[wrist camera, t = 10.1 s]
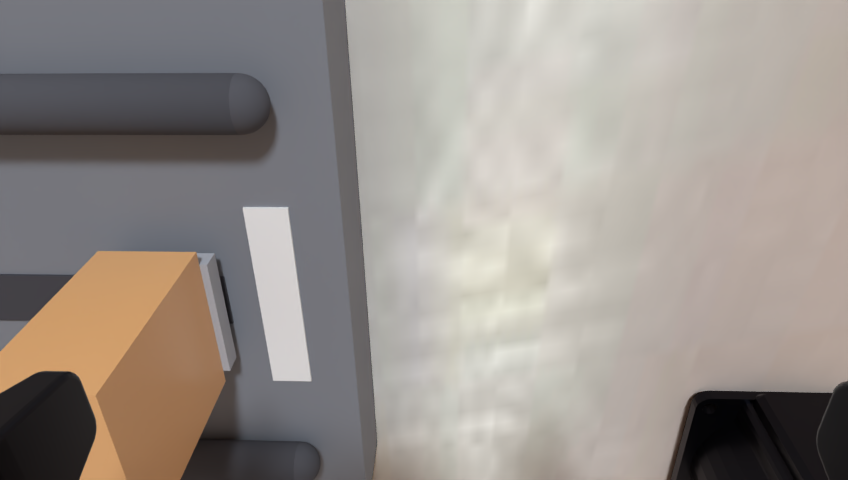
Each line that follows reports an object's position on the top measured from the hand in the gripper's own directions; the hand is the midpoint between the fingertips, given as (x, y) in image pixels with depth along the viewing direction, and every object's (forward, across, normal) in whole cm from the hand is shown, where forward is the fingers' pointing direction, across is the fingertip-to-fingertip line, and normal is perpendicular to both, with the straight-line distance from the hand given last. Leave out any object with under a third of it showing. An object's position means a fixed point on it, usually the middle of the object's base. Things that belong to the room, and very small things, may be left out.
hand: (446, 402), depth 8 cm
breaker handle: (+9, +8, +5) cm, 13 cm away
